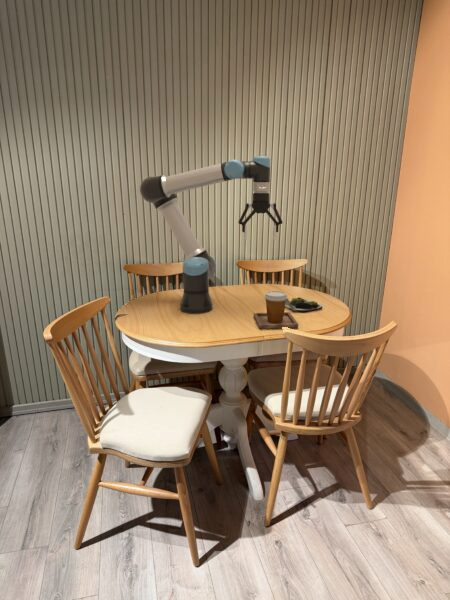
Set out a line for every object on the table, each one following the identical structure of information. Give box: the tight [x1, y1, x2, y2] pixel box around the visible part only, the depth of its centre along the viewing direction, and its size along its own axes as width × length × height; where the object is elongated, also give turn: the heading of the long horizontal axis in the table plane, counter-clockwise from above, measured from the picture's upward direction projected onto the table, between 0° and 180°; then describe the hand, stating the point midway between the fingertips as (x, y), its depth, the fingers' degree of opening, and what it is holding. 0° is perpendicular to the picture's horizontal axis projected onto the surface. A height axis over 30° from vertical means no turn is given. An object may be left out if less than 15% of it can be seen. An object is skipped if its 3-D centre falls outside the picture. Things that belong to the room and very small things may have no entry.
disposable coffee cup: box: [264, 290, 288, 323], centre depth 174 cm, size 10×10×12 cm
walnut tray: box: [253, 311, 299, 330], centre depth 176 cm, size 16×16×2 cm
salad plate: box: [285, 296, 323, 314], centre depth 198 cm, size 19×18×5 cm
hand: (259, 239), depth 194 cm, fingers open, 13 cm apart
